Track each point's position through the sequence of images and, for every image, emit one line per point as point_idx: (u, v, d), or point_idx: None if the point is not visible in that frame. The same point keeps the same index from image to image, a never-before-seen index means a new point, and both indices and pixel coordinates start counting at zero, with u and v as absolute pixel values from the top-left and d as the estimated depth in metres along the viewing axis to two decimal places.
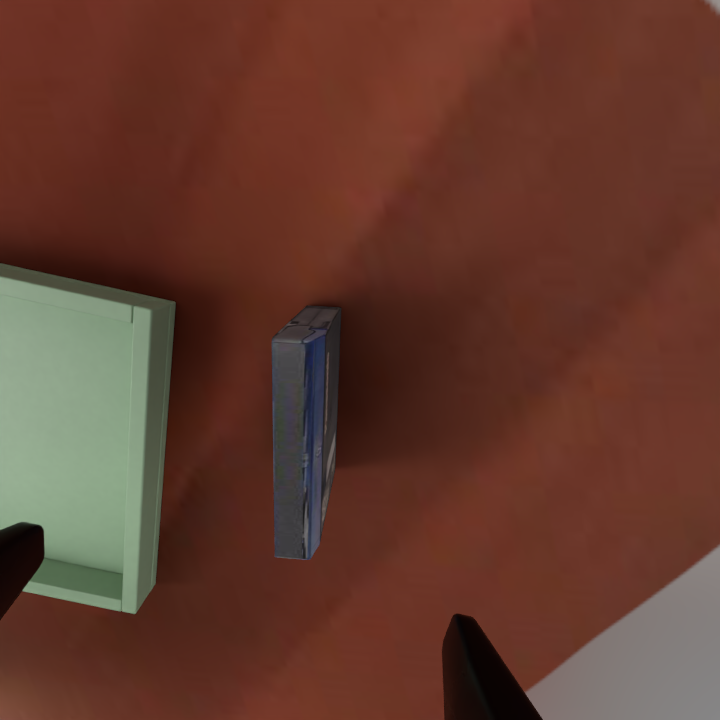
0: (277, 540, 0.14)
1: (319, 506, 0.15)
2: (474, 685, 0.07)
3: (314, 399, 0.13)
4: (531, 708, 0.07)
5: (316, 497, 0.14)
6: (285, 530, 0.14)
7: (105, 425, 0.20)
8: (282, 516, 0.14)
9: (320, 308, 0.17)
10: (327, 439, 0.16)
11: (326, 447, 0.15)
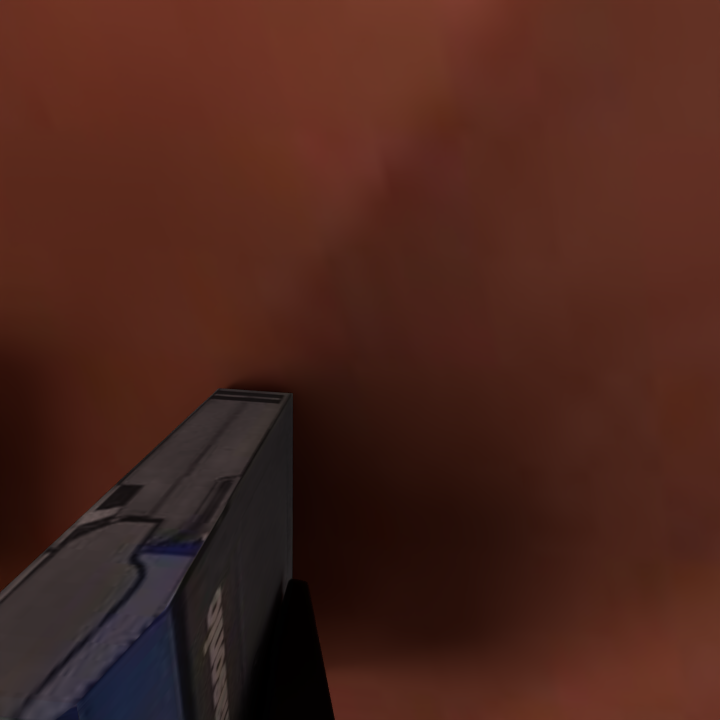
0: None
1: None
2: (272, 643, 0.07)
3: None
4: (317, 664, 0.07)
5: None
6: None
7: None
8: None
9: (242, 400, 0.08)
10: None
11: None
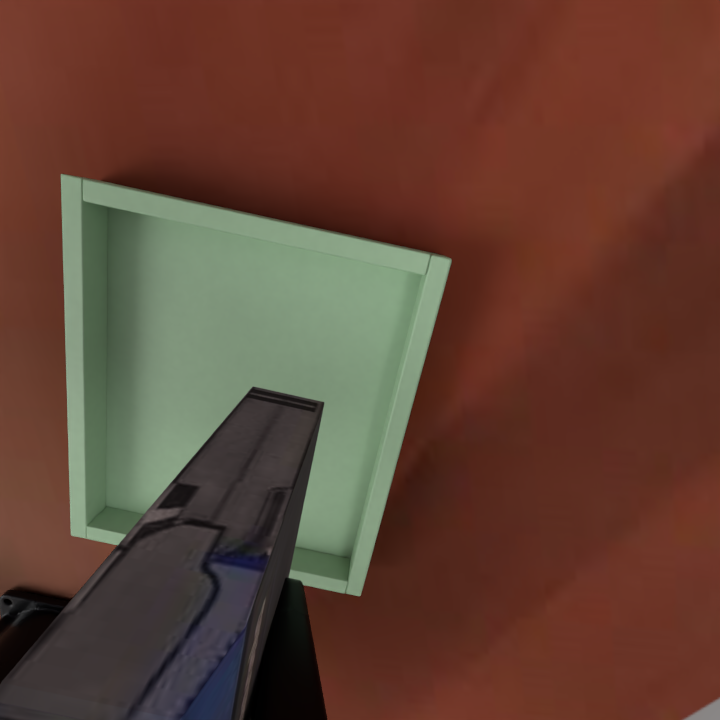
0: None
1: None
2: None
3: None
4: (310, 662, 0.07)
5: None
6: None
7: (346, 393, 0.18)
8: None
9: (279, 403, 0.08)
10: None
11: None
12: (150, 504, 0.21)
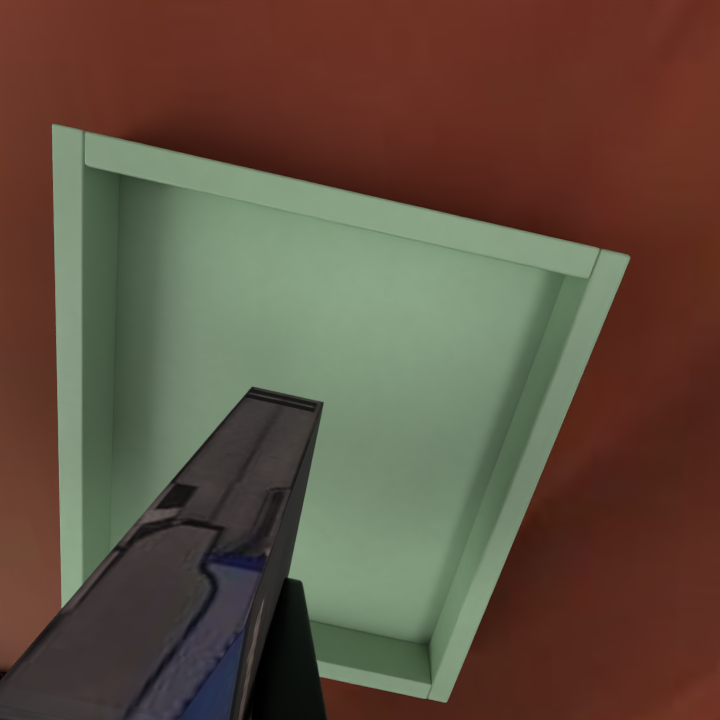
0: None
1: None
2: None
3: None
4: (310, 662, 0.07)
5: None
6: None
7: (440, 438, 0.13)
8: None
9: (278, 404, 0.08)
10: None
11: None
12: None
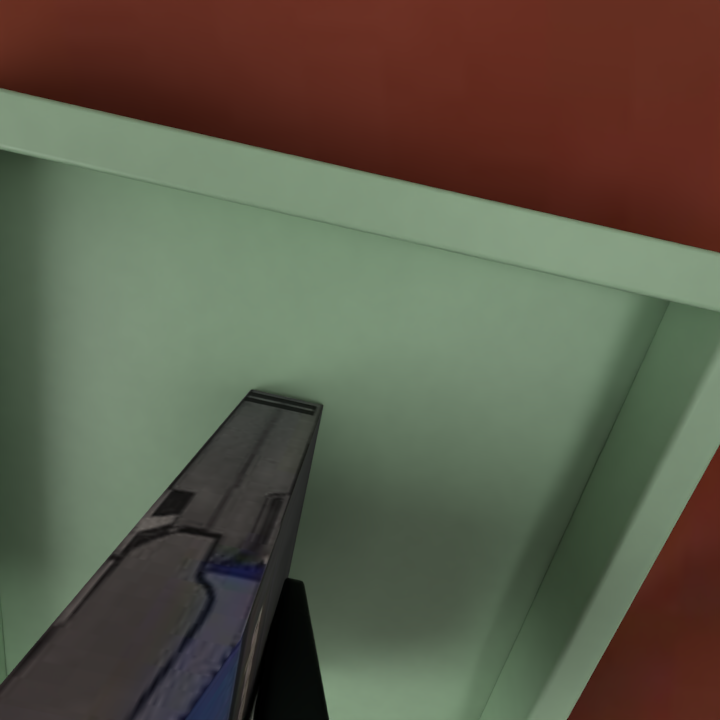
0: None
1: None
2: (267, 642, 0.07)
3: None
4: (312, 663, 0.07)
5: None
6: None
7: (467, 535, 0.09)
8: None
9: (277, 407, 0.08)
10: None
11: None
12: None
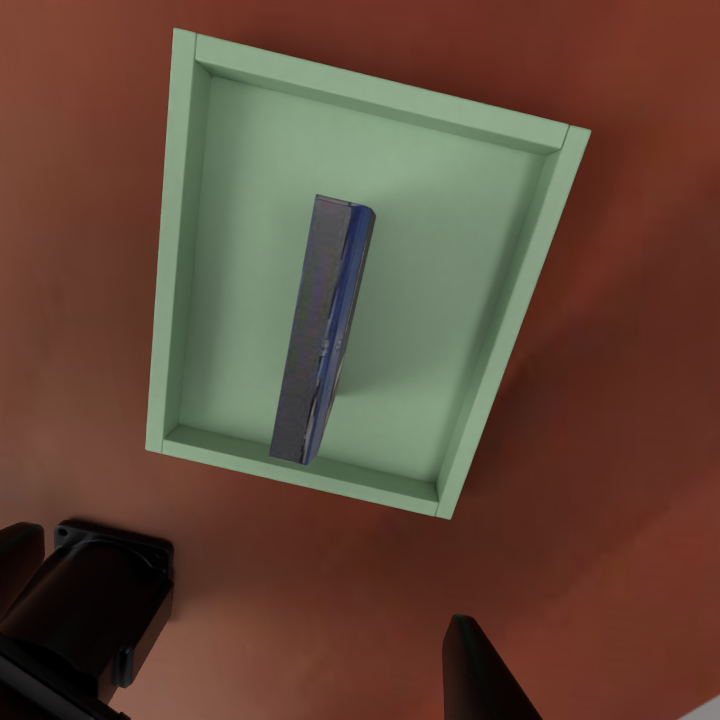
0: (275, 437, 0.13)
1: (326, 410, 0.13)
2: (474, 685, 0.07)
3: (348, 278, 0.11)
4: (530, 708, 0.07)
5: (326, 398, 0.13)
6: (286, 427, 0.13)
7: (449, 296, 0.17)
8: (286, 410, 0.13)
9: None
10: (343, 344, 0.14)
11: (341, 352, 0.14)
12: (226, 422, 0.20)
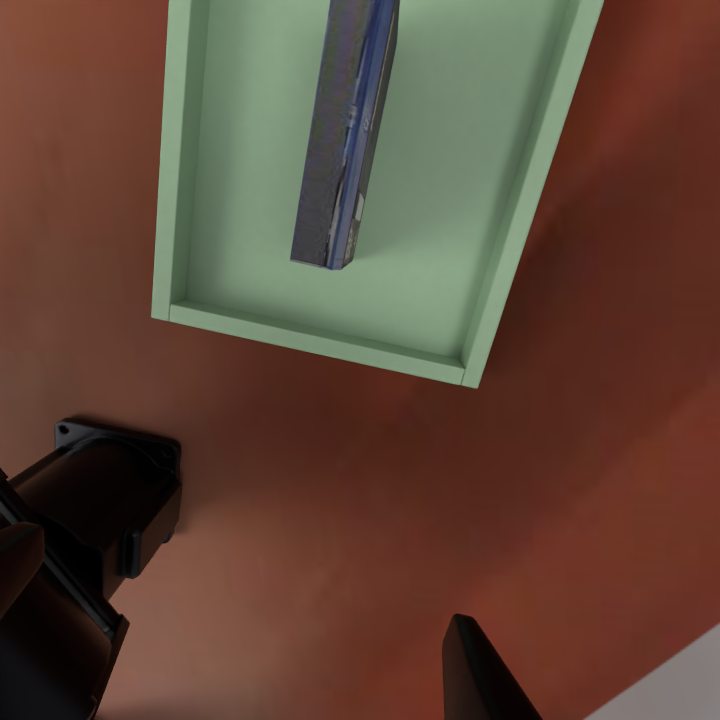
0: (297, 235, 0.12)
1: (351, 212, 0.12)
2: (474, 685, 0.07)
3: (378, 28, 0.10)
4: (531, 708, 0.07)
5: (352, 192, 0.12)
6: (309, 220, 0.12)
7: (474, 136, 0.16)
8: (309, 198, 0.11)
9: None
10: (367, 155, 0.13)
11: (365, 162, 0.13)
12: (236, 294, 0.18)
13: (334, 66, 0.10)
